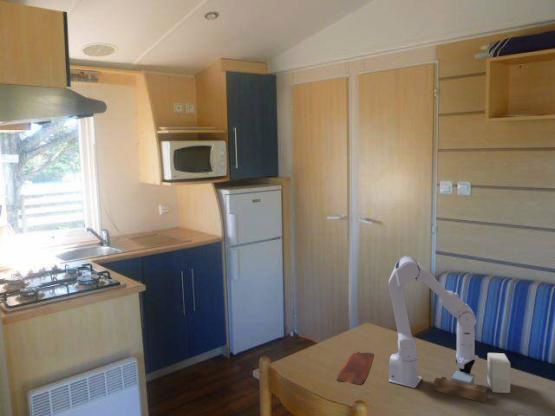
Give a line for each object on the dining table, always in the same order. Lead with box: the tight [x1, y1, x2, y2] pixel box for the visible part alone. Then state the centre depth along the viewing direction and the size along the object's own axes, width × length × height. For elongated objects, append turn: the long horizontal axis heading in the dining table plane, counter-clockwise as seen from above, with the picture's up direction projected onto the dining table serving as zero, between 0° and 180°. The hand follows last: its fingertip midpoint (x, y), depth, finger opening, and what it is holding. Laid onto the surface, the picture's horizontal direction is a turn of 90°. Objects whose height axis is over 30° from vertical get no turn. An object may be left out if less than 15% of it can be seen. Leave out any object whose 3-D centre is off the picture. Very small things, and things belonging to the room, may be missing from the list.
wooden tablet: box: [336, 351, 375, 386], centre depth 185 cm, size 27×10×2 cm, turn 158°
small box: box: [486, 352, 511, 394], centre depth 165 cm, size 8×6×10 cm
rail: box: [433, 376, 487, 403], centre depth 163 cm, size 16×4×4 cm, turn 56°
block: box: [450, 370, 475, 386], centre depth 165 cm, size 6×6×4 cm
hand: (465, 379), depth 169 cm, fingers closed
